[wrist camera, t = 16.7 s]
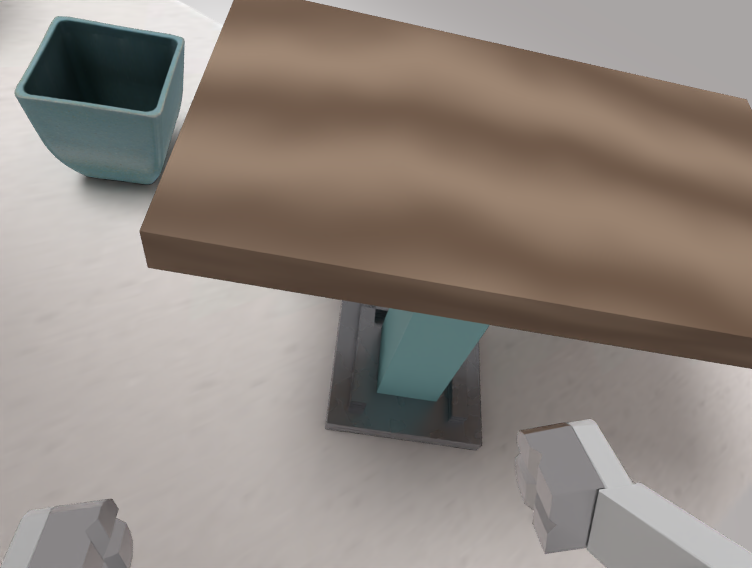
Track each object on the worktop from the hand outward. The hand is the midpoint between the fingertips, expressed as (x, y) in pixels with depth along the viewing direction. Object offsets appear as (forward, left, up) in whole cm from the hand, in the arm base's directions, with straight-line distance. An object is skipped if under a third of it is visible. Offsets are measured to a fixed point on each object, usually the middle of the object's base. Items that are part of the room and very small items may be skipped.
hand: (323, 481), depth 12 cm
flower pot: (-34, -3, -24) cm, 41 cm away
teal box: (-11, +12, -22) cm, 28 cm away
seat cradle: (-11, +12, -23) cm, 29 cm away
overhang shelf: (-11, +12, -23) cm, 29 cm away
